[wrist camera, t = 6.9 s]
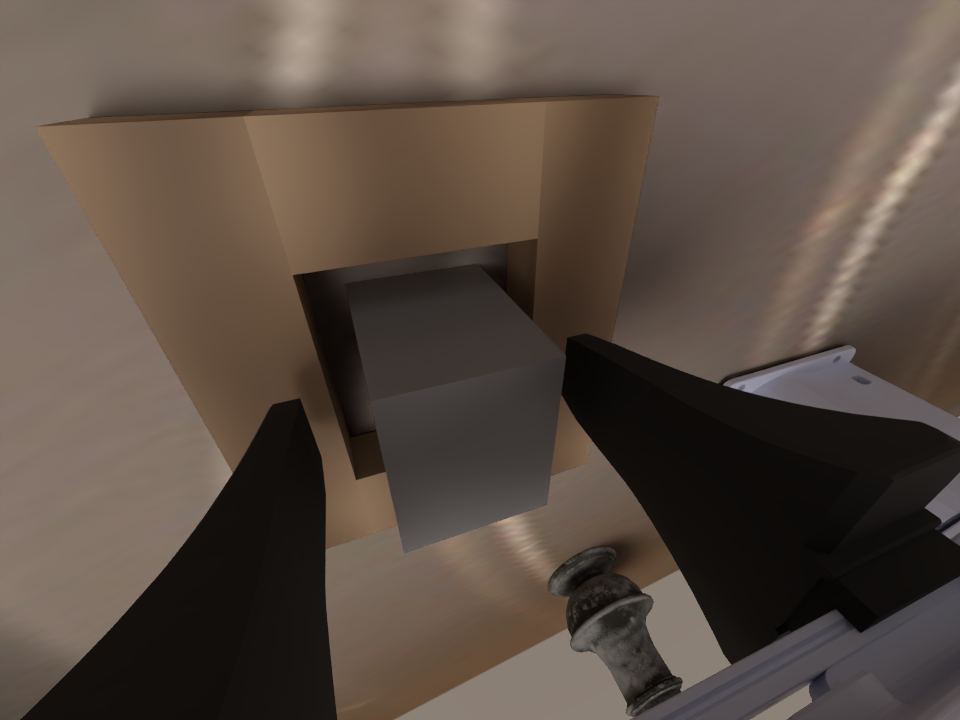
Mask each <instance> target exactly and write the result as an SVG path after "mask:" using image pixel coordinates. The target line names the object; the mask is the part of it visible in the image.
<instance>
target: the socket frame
mask: <svg viewBox="0 0 960 720" xmlns="http://www.w3.org/2000/svg"><path fill="white" fill-rule="evenodd" d="M658 100H659V96H643V95H618V94H602V95H580V96H558V97H536V98H514V99H492V100H470V101H448V102H426V103H404V104H382V105H360V106H338V107H316V108H294V109H272V110H250V111H228V112H206V113H184V114H162V115H140V116H118V117H96V118H84V119H78V120H72V121H66V122H60V123H54V124H48V125H42V126H36V127H35V128H36V130H37V131H38V133H39V135H40V137H41V138H42V140H43V142H44V144H45V145H46V147H47V149H48V151H49V152H50V154H51V156H52V158H53V159H54V161H55V163H56V165H57V166H58V168H59V170H60V172H61V173H62V175H63V177H64V179H65V180H66V182H67V184H68V185H69V187H70V189H71V191H72V192H73V194H74V196H75V198H76V199H77V201H78V203H79V205H80V206H81V208H82V210H83V212H84V213H85V215H86V217H87V219H88V220H89V222H90V224H91V226H92V227H93V229H94V231H95V233H96V234H97V236H98V238H99V240H100V241H101V243H102V245H103V247H104V248H105V250H106V252H107V254H108V255H109V257H110V259H111V261H112V262H113V264H114V266H115V268H116V269H117V271H118V273H119V275H120V276H121V278H122V280H123V282H124V283H125V285H126V287H127V289H128V290H129V292H130V294H131V296H132V297H133V299H134V301H135V303H136V304H137V306H138V308H139V310H140V311H141V313H142V315H143V317H144V318H145V320H146V322H147V324H148V325H149V327H150V329H151V330H152V332H153V334H154V336H155V337H156V339H157V341H158V343H159V344H160V346H161V348H162V350H163V351H164V353H165V355H166V357H167V358H168V360H169V362H170V364H171V365H172V367H173V369H174V371H175V372H176V374H177V376H178V378H179V379H180V381H181V383H182V385H183V386H184V388H185V390H186V392H187V393H188V395H189V397H190V399H191V400H192V402H193V404H194V406H195V407H196V409H197V411H198V413H199V414H200V416H201V418H202V420H203V421H204V423H205V425H206V427H207V428H208V430H209V432H210V434H211V435H212V437H213V439H214V441H215V442H216V444H217V446H218V448H219V449H220V451H221V453H222V455H223V456H224V458H225V460H226V462H227V463H228V465H229V467H230V469H231V470H232V472H234V471H235V469H236V467H237V466H238V464H239V462H240V461H241V459H242V457H243V456H244V454H245V452H246V451H247V449H248V447H249V445H250V443H251V442H252V440H253V438H254V436H255V434H256V433H257V431H258V429H259V427H260V425H261V423H262V421H263V420H264V418H265V416H266V414H267V412H268V410H269V409H270V407H271V406H272V405H273V404H276V403H281V402H285V401H289V400H294V399H298V398H300V399H301V402H302V405H303V407H304V410H305V413H306V416H307V418H308V421H309V424H310V427H311V429H312V432H313V435H314V437H315V440H316V443H317V446H318V448H319V451H320V454H321V456H322V464H323V472H324V480H325V489H326V549H327V548H330V547H334V546H337V545H340V544H343V543H346V542H349V541H352V540H355V539H358V538H361V537H364V536H367V535H370V534H373V533H376V532H379V531H383V530H386V529H389V528H392V527H395V526H398V524H397V519H396V515H395V510H394V506H393V502H392V497H391V493H390V488H389V484H388V479H387V475H386V471H385V466H384V462H383V457H382V453H381V448H380V444H379V440H378V435H377V431H374V432H370V433H366V434H363V435H359V436H355V437H351V438H350V435H349V432H348V428H347V425H346V421H345V418H344V415H343V411H342V408H341V404H340V401H339V398H338V394H337V391H336V388H335V384H334V381H333V377H332V374H331V371H330V367H329V364H328V360H327V357H326V354H325V350H324V347H323V343H322V340H321V337H320V333H319V330H318V327H317V323H316V320H315V316H314V313H313V310H312V306H311V303H310V299H309V296H308V293H307V289H306V286H305V282H304V279H303V276H302V274H303V273H310V272H317V271H323V270H330V269H337V268H343V267H350V266H357V265H363V264H370V263H377V262H384V261H390V260H397V259H404V258H410V257H417V256H424V255H431V254H437V253H444V252H451V251H457V250H464V249H471V248H477V247H484V246H491V245H498V244H504V243H507V281H506V294H507V295H508V296H509V297H510V298H511V299H512V300H513V301H514V302H515V303H516V304H517V305H518V306H519V307H520V309H521V310H522V311H523V312H524V313H525V314H526V315H527V316H528V317H529V318H530V319H531V320H532V321H533V322H534V323H535V324H536V325H537V326H538V327H539V328H540V329H541V330H542V331H543V332H544V333H545V335H546V336H547V337H548V338H549V339H550V340H551V341H552V342H553V343H554V344H555V345H556V346H557V347H558V348H559V349H560V350H561V351H562V352H563V353H564V354H565V351H566V342H567V337H572V336H576V335H581V334H585V333H586V334H589V335H592V336H595V337H598V338H601V339H603V340H606V341H608V342H612V337H613V331H614V326H615V321H616V316H617V311H618V306H619V301H620V295H621V290H622V285H623V280H624V275H625V270H626V264H627V259H628V254H629V249H630V244H631V239H632V234H633V228H634V223H635V218H636V213H637V208H638V203H639V198H640V192H641V187H642V182H643V177H644V172H645V167H646V161H647V156H648V151H649V146H650V141H651V136H652V131H653V125H654V120H655V115H656V110H657V105H658ZM591 445H592V440H591V439H590V437H589V436H588V435H587V433H586V432H585V431H584V430H583V428H582V427H581V426H580V424H579V423H578V422H577V420H576V419H575V417H574V416H573V414H572V412H571V411H570V409H569V407H568V406H567V404H566V402H565V400H564V398H563V397H562V395H561V400H560V408H559V416H558V423H557V431H556V439H555V446H554V454H553V462H552V469H551V475H554V474H557V473H560V472H563V471H566V470H569V469H572V468H576V467H579V466H582V465H585V464H588V460H589V455H590V450H591Z"/></svg>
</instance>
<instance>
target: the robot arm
mask: <svg viewBox="0 0 960 720" xmlns="http://www.w3.org/2000/svg"><path fill="white" fill-rule="evenodd" d="M855 352H856V349H855V348H854V347H852V346H850V345H846V346H843V347H839V348H836V349H832V350H829V351H826V352H822V353H819V354H815V355H812V356H809V357H805V358H802V359H798V360H795V361H792V362H788V363H785V364H781V365H778V366H775V367H771V368H768V369H764V370H761V371H758V372H754V373H751V374H747V375H744V376H741V377H737V378H734V379H730V380H728V381H727V382H725V383H724V384H723V385H721V384H717V383H714V382H711V381H708V380H705V379H702V378H699V377H696V376H693V375H691V374H688V373H685V372H682V371H680V370H677V369H674V368H672V367H669V366H666V365H664V364H661V363H659V362H656V361H654V360H651V359H649V358H647V357H644V356H642V355H639V354H637V353H635V352H632V351H630V350H627V349H625V348H623V347H620V346H618V345H616V344H613V343H611V342H608V341H606V340H603V339H601V338H598V337H595V336H592V335H589V334H586V333H585V334H581V335H576V336H572V337H567V342H566V351H565V355H566V362H565V370H564V377H563V385H562V393H561V395H562V397H563V398H564V400H565V402H566V404H567V406H568V407H569V409H570V411H571V412H572V414H573V416H574V417H575V419H576V420H577V422H578V423H579V424H580V426H581V427H582V428H583V430H584V431H585V432H586V433H587V435H588V436H589V437H590V439H591V440H592V441H593V442H594V444H595V445H596V446H597V447H598V449H599V450H600V451H601V452H602V454H603V455H604V456H605V457H606V459H607V460H608V461H609V462H610V464H611V465H612V466H613V467H614V469H615V470H616V471H617V472H618V473H619V475H620V476H621V477H622V478H623V480H624V481H625V482H626V484H627V485H628V487H629V488H630V489H631V491H632V492H633V493H634V495H635V496H636V498H637V500H638V501H639V503H640V504H641V506H642V507H643V509H644V510H645V512H646V514H647V515H648V517H649V518H650V520H651V521H652V523H653V525H654V526H655V528H656V530H657V531H658V533H659V535H660V536H661V538H662V539H663V541H664V543H665V544H666V546H667V548H668V549H669V551H670V553H671V554H672V556H673V558H674V560H675V562H676V563H677V565H678V567H679V569H680V571H681V572H682V574H683V576H684V578H685V579H686V581H687V583H688V585H689V587H690V588H691V590H692V592H693V594H694V596H695V598H696V600H697V602H698V604H699V605H700V608H701V609H702V611H703V613H704V615H705V617H706V619H707V621H708V623H709V625H710V627H711V629H712V631H713V633H714V635H715V637H716V639H717V641H718V643H719V645H720V647H721V649H722V652H723V654H724V655H725V657H726V658H727V659H728V661H729V662H730V663H731V666H729V667H727V668H725V669H723V670H722V671H720V672H718V673H716V674H714V675H712V676H710V677H708V678H707V679H705V680H703V681H701V682H699V683H697V684H695V685H694V686H692V687H690V688H688V689H686V690H684V691H682V692H681V693H679V694H677V695H675V696H673V697H671V698H669V699H668V700H666V701H664V702H662V703H660V704H658V705H656V706H655V707H653V708H651V709H649V710H647V711H645V712H643V713H642V714H640V715H638V716H636V717H634V718H632V719H630V720H750V719H751V718H753V717H755V716H756V715H758V714H760V713H762V712H763V711H765V710H767V709H768V708H770V707H772V706H773V705H775V704H777V703H778V702H780V701H782V700H783V699H785V698H787V697H788V696H790V695H792V694H794V693H795V692H797V691H799V690H800V689H802V688H803V687H805V686H807V685H808V684H810V683H811V684H810V685H809V693H810V696H811V698H812V703H810V704H809V705H807V706H806V707H804V708H803V709H801V710H800V711H798V712H796V713H795V714H794V715H792V716H791V717H790V718H788V719H787V720H960V419H959V418H957V417H955V416H953V415H951V414H949V413H947V412H945V411H943V410H941V409H940V408H938V407H936V406H934V405H932V404H930V403H928V402H926V401H924V400H922V399H920V398H918V397H916V396H914V395H912V394H910V393H908V392H906V391H904V390H902V389H900V388H899V387H897V386H895V385H893V384H891V383H889V382H887V381H885V380H883V379H881V378H879V377H877V376H875V375H873V374H871V373H869V372H867V371H865V370H863V369H861V368H859V367H858V366H856V365H854V364H852V363H850V361H851V359H852V357H853V356H854V354H855ZM325 551H326V489H325V480H324V472H323V464H322V456H321V454H320V451H319V448H318V446H317V443H316V440H315V437H314V435H313V432H312V429H311V427H310V424H309V421H308V418H307V416H306V413H305V410H304V407H303V405H302V402H301V399H300V398H298V399H294V400H289V401H285V402H281V403H276V404H273V405H272V406H271V407H270V409H269V410H268V412H267V414H266V416H265V418H264V420H263V421H262V423H261V425H260V427H259V429H258V431H257V433H256V434H255V436H254V438H253V440H252V442H251V443H250V445H249V447H248V449H247V451H246V452H245V454H244V456H243V457H242V459H241V461H240V462H239V464H238V466H237V467H236V469H235V471H234V472H233V474H232V476H231V477H230V479H229V480H228V482H227V483H226V485H225V486H224V488H223V489H222V491H221V492H220V494H219V495H218V497H217V498H216V500H215V501H214V503H213V504H212V506H211V507H210V509H209V510H208V512H207V513H206V515H205V516H204V518H203V519H202V520H201V522H200V523H199V524H198V526H197V527H196V529H195V530H194V531H193V533H192V534H191V535H190V537H189V538H188V539H187V541H186V542H185V543H184V544H183V546H182V547H181V548H180V549H179V551H178V552H177V553H176V555H175V556H174V557H173V558H172V560H171V561H170V562H169V563H168V565H167V566H166V567H165V568H164V569H163V571H162V572H161V573H160V574H159V575H158V576H157V578H156V579H155V580H154V581H153V582H152V583H151V585H150V586H149V587H148V588H147V589H146V590H145V591H144V592H143V594H142V595H141V596H140V597H139V598H138V599H137V600H136V601H135V603H134V604H133V605H132V606H131V607H130V608H129V609H128V610H127V612H126V613H125V614H124V615H123V616H122V617H121V618H120V619H119V621H118V622H117V623H116V624H115V625H114V626H113V627H112V628H111V629H110V630H109V631H108V632H107V634H106V635H105V636H104V637H103V638H102V639H101V640H100V641H99V642H98V643H97V644H96V645H95V646H94V647H93V648H92V649H91V650H90V651H89V652H88V653H87V654H86V655H85V656H84V657H83V658H82V659H81V660H80V661H79V662H78V663H77V664H76V665H75V666H74V667H73V668H72V669H71V670H70V671H69V672H68V673H67V674H66V675H65V676H64V677H63V678H62V679H61V680H60V681H59V682H58V683H57V684H56V685H55V686H54V687H53V688H52V689H51V690H50V691H49V692H48V693H47V694H46V695H45V696H44V697H43V698H42V699H41V700H40V701H39V702H38V703H37V704H36V705H35V706H34V707H33V708H32V709H31V710H30V711H29V712H28V713H27V714H26V715H25V716H24V717H23V718H22V719H20V720H337V714H336V705H335V696H334V686H333V676H332V666H331V656H330V646H329V635H328V623H327V612H326V595H325Z"/></svg>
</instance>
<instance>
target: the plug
mask: <svg viewBox="0 0 960 720" xmlns="http://www.w3.org/2000/svg"><path fill="white" fill-rule="evenodd" d="M345 286H346V291H347V296H348V301H349V305H350V310H351V315H352V319H353V324H354V329H355V334H356V338H357V343H358V348H359V352H360V357H361V362H362V367H363V371H364V376H365V381H366V386H367V390H368V395H369V400H370V404H371V409H372V413H373V418H374V422H375V426H376V431H377V435H378V440H379V444H380V448H381V453H382V457H383V462H384V466H385V471H386V475H387V479H388V484H389V488H390V493H391V497H392V502H393V506H394V510H395V515H396V519H397V524H398V528H399V533H400V537H401V541H402V546H403V550H404V553H406V552H409V551H412V550H415V549H418V548H421V547H424V546H427V545H430V544H433V543H436V542H439V541H442V540H445V539H447V538H450V537H453V536H456V535H459V534H462V533H465V532H468V531H471V530H474V529H477V528H480V527H483V526H486V525H489V524H491V523H494V522H497V521H500V520H503V519H506V518H509V517H512V516H515V515H518V514H521V513H524V512H527V511H530V510H533V509H536V508H538V507H541V506H544V505H547V500H548V492H549V485H550V477H551V469H552V462H553V454H554V446H555V439H556V431H557V423H558V416H559V408H560V400H561V393H562V385H563V377H564V370H565V362H566V355H565V354H564V353H563V352H562V351H561V350H560V349H559V348H558V347H557V346H556V345H555V344H554V343H553V342H552V341H551V340H550V339H549V338H548V337H547V336H546V335H545V333H544V332H543V331H542V330H541V329H540V328H539V327H538V326H537V325H536V324H535V323H534V322H533V321H532V320H531V319H530V318H529V317H528V316H527V315H526V314H525V313H524V312H523V311H522V310H521V309H520V307H519V306H518V305H517V304H516V303H515V302H514V301H513V300H512V299H511V298H510V297H509V296H508V295H507V294H506V293H505V292H504V291H503V290H502V289H501V288H500V287H499V286H498V285H497V284H496V283H495V281H494V280H493V279H492V278H491V277H490V276H489V275H488V274H487V273H486V272H485V271H484V270H483V269H482V268H481V267H480V266H479V265H478V264H472V265H465V266H459V267H452V268H446V269H439V270H432V271H426V272H419V273H413V274H406V275H399V276H393V277H386V278H380V279H373V280H366V281H360V282H353V283H347V284H345Z"/></svg>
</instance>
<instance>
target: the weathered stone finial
mask: <svg viewBox="0 0 960 720" xmlns="http://www.w3.org/2000/svg"><path fill="white" fill-rule="evenodd" d="M615 561H616V552H615V550H614V549H613V548H611V547H609V546H599V547H594V548H591V549H588V550H586V551H583V552H581V553H579V554H577V555H576V556H574V557H572V558H571V559H569V560H568V561H566V562H565V563H564V564H563V565H561V566H560V567H559V568H558V569H557V570H556V571H555V572H554V574H553V575H552V577H551V578H550V580H549V583H548V590H549V592H550V593H551V594H553V595H556V596H562V597H570V598H569V600H568V604H567V609H566V618H567V625H568V630H569V632H570V634H571V636H572V638H571V641H570V645H571V648H572V649H573V650H574V651H576V652H587V651H591V652H593V653H596V654H597V655H598V656H599V657H600V658H601V660H602V661H603V662H604V663H605V665H606V666H607V667H608V669H609V670H610V671H611V673H612V675H613V677H614V679H615V681H616V683H617V685H618V687H619V689H620V690H621V692H622V694H623V696H624V698H625V700H626V702H627V709H626V714H627V715H628V716H632V717H636V716H638V715H640V714H642V713H643V712H645V711H647V710H649V709H651V708H653V707H655V706H656V705H658V704H660V703H662V702H664V701H666V700H668V699H669V698H671V697H673V696H675V695H677V694H679V693H681V691H680V688H681V686H682V679H681V678H680V677H676V676H673V675H672V674H671V672H670V670H669V669H668V667H667V666H666V664H665V662H664V661H663V659H662V658H661V656H660V654H659V653H658V651H657V650H656V648H655V646H654V645H653V642H652V640H651V637H650V635H649V632H648V630H647V627H646V624H645V623H646V616H647V615H648V613H649V612H650V610H651V609H652V606H653V599H652V597H651V596H650V595H647V594H645V593H644V594H643V593H642V591H641V590H640V588H639V587H638V586H637V585H636V584H635V583H634V582H632V581H631V580H630V579H628V578H627V577H625V576H623V575H620V574H616V573H610V572H611V570H612V568H613V566H614V563H615Z"/></svg>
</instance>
